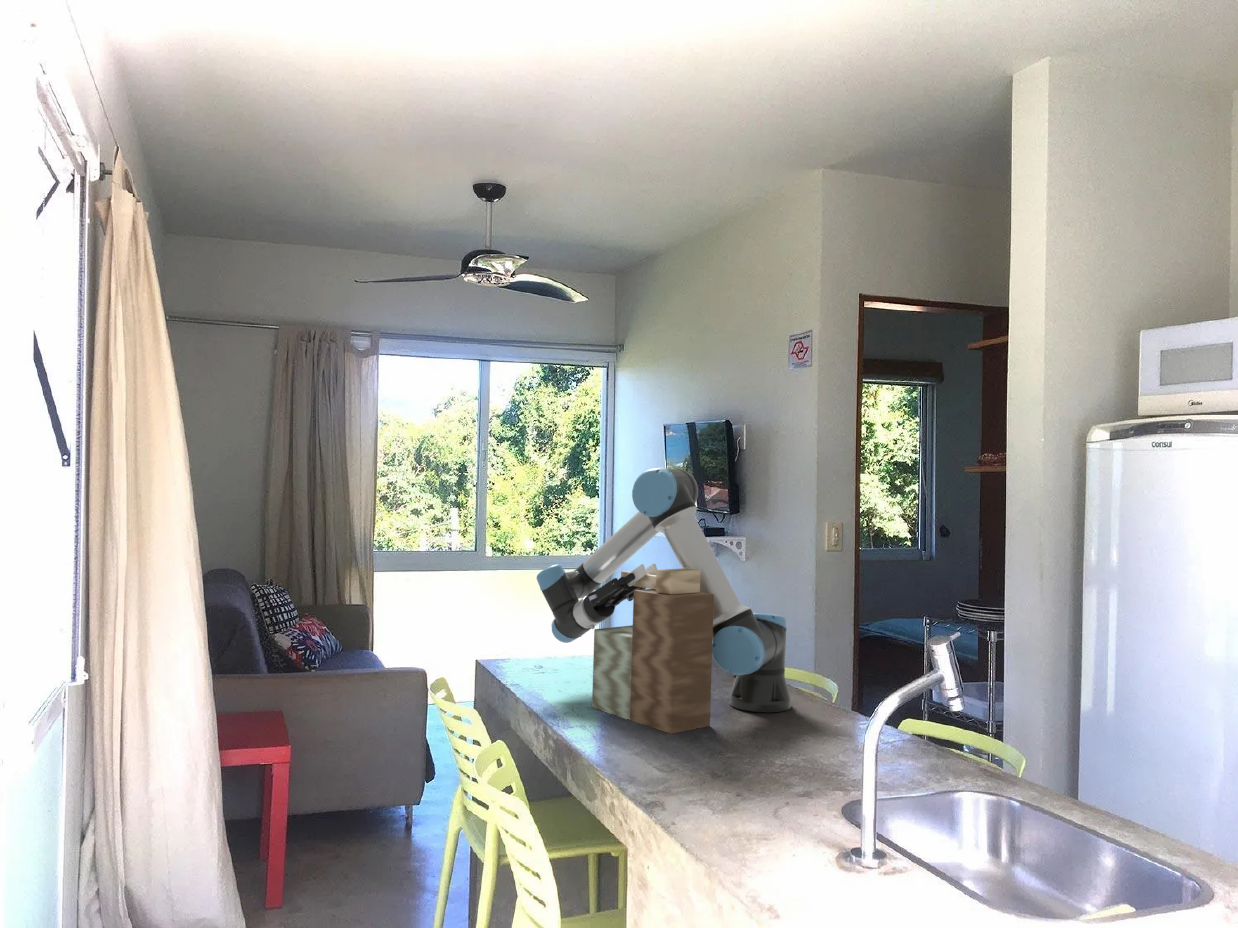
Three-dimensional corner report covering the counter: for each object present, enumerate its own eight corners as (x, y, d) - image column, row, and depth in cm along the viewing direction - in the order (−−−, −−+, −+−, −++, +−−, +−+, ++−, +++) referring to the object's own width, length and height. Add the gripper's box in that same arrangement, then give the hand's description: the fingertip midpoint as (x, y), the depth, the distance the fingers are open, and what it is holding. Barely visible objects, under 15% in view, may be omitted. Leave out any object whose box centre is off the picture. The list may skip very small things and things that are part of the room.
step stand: (591, 707, 241) (595, 583, 242) (629, 701, 249) (633, 581, 249) (671, 733, 220) (675, 597, 220) (709, 725, 228) (713, 594, 228)
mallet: (611, 584, 240) (611, 563, 240) (639, 582, 245) (640, 561, 245) (671, 594, 223) (671, 572, 223) (699, 592, 229) (700, 570, 229)
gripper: (623, 619, 255) (680, 582, 239) (573, 624, 245) (629, 585, 229) (614, 592, 258) (670, 553, 242) (564, 596, 248) (619, 555, 232)
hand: (650, 569), depth 236 cm, fingers closed on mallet, 3 cm apart
